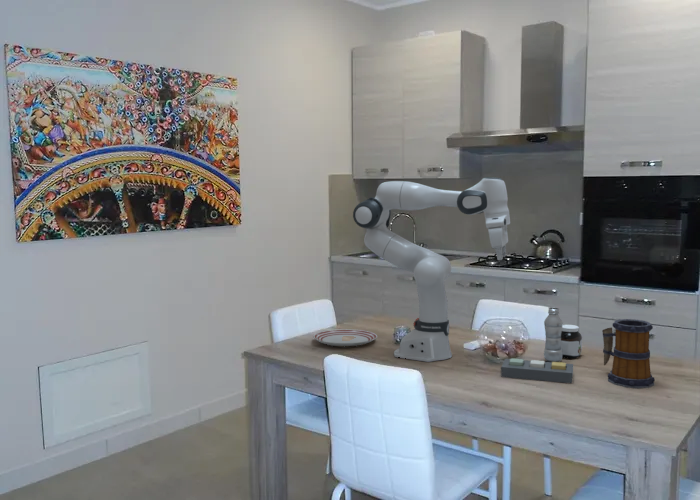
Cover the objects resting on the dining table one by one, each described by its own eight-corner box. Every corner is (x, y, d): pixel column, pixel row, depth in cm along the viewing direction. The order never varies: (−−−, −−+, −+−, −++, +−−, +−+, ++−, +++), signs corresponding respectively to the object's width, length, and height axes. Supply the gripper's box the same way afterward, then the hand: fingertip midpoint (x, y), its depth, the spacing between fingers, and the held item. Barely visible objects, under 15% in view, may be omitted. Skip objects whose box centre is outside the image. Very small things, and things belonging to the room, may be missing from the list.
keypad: (501, 376, 216) (501, 366, 216) (505, 368, 226) (505, 358, 226) (571, 383, 208) (572, 373, 207) (573, 374, 218) (573, 364, 218)
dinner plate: (338, 332, 287) (338, 325, 287) (389, 340, 271) (389, 332, 271) (300, 345, 265) (299, 337, 265) (352, 354, 249) (352, 346, 249)
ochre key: (551, 370, 213) (551, 365, 213) (552, 367, 217) (552, 361, 217) (565, 372, 211) (565, 366, 211) (565, 368, 215) (565, 362, 215)
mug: (587, 374, 217) (588, 317, 215) (618, 369, 223) (619, 313, 221) (632, 391, 199) (633, 329, 197) (664, 384, 205) (667, 324, 203)
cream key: (530, 369, 216) (530, 363, 215) (531, 365, 220) (531, 359, 219) (543, 370, 214) (543, 364, 214) (544, 366, 218) (544, 361, 218)
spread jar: (571, 360, 234) (571, 330, 233) (544, 355, 243) (544, 325, 242) (587, 354, 242) (588, 325, 241) (560, 349, 251) (561, 320, 249)
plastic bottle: (563, 364, 230) (564, 310, 228) (544, 363, 231) (545, 310, 229) (561, 359, 236) (562, 307, 234) (542, 358, 237) (543, 306, 235)
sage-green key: (509, 367, 218) (509, 361, 218) (510, 363, 222) (510, 358, 222) (522, 368, 217) (522, 362, 216) (523, 364, 221) (523, 359, 220)
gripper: (493, 220, 240) (497, 255, 241) (484, 223, 221) (489, 262, 222) (509, 218, 238) (513, 254, 239) (502, 221, 219) (507, 260, 220)
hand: (501, 258), depth 230 cm, fingers open, 8 cm apart
